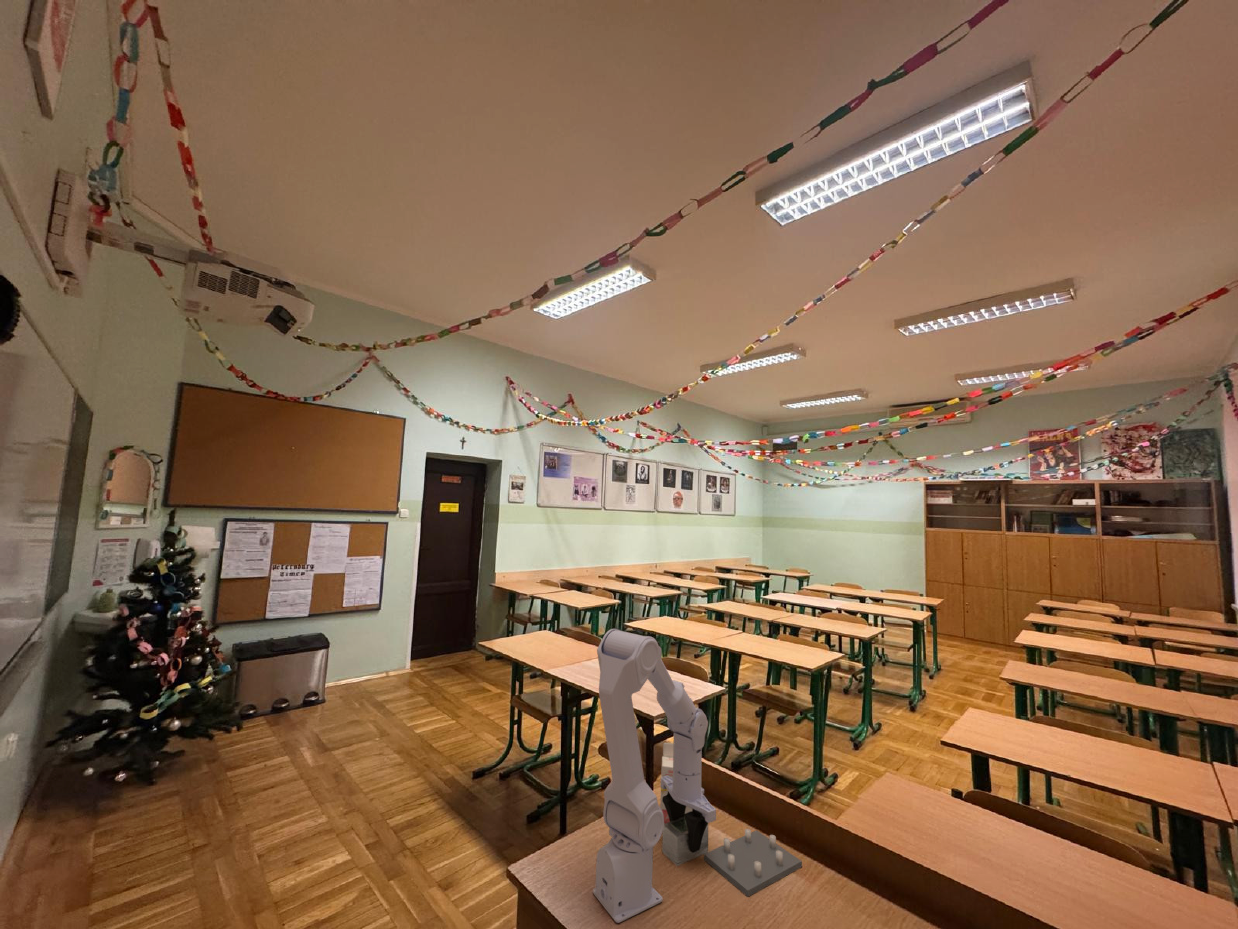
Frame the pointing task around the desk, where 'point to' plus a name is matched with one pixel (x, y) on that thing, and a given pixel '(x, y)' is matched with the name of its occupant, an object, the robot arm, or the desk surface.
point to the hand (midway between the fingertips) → (686, 843)
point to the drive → (680, 842)
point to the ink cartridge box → (667, 771)
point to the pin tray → (752, 861)
